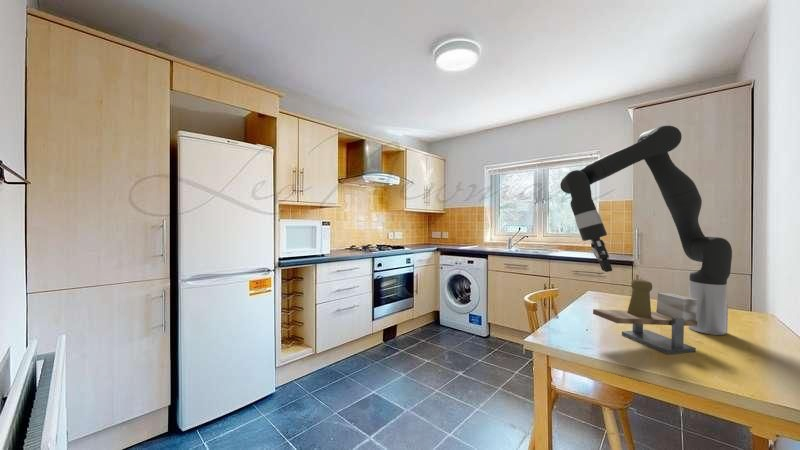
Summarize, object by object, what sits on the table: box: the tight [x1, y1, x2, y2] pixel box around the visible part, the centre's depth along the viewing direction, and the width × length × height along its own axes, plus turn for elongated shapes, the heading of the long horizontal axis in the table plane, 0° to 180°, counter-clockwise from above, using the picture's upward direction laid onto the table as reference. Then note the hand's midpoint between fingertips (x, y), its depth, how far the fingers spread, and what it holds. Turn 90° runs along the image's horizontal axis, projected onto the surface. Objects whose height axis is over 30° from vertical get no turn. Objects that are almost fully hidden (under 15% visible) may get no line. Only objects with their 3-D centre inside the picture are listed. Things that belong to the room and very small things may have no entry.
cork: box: [626, 279, 653, 318], centre depth 95 cm, size 6×6×11 cm
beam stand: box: [621, 317, 697, 355], centre depth 96 cm, size 10×15×10 cm, turn 9°
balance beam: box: [592, 292, 697, 327], centre depth 96 cm, size 28×11×8 cm, turn 99°
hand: (607, 270), depth 103 cm, fingers open, 8 cm apart
